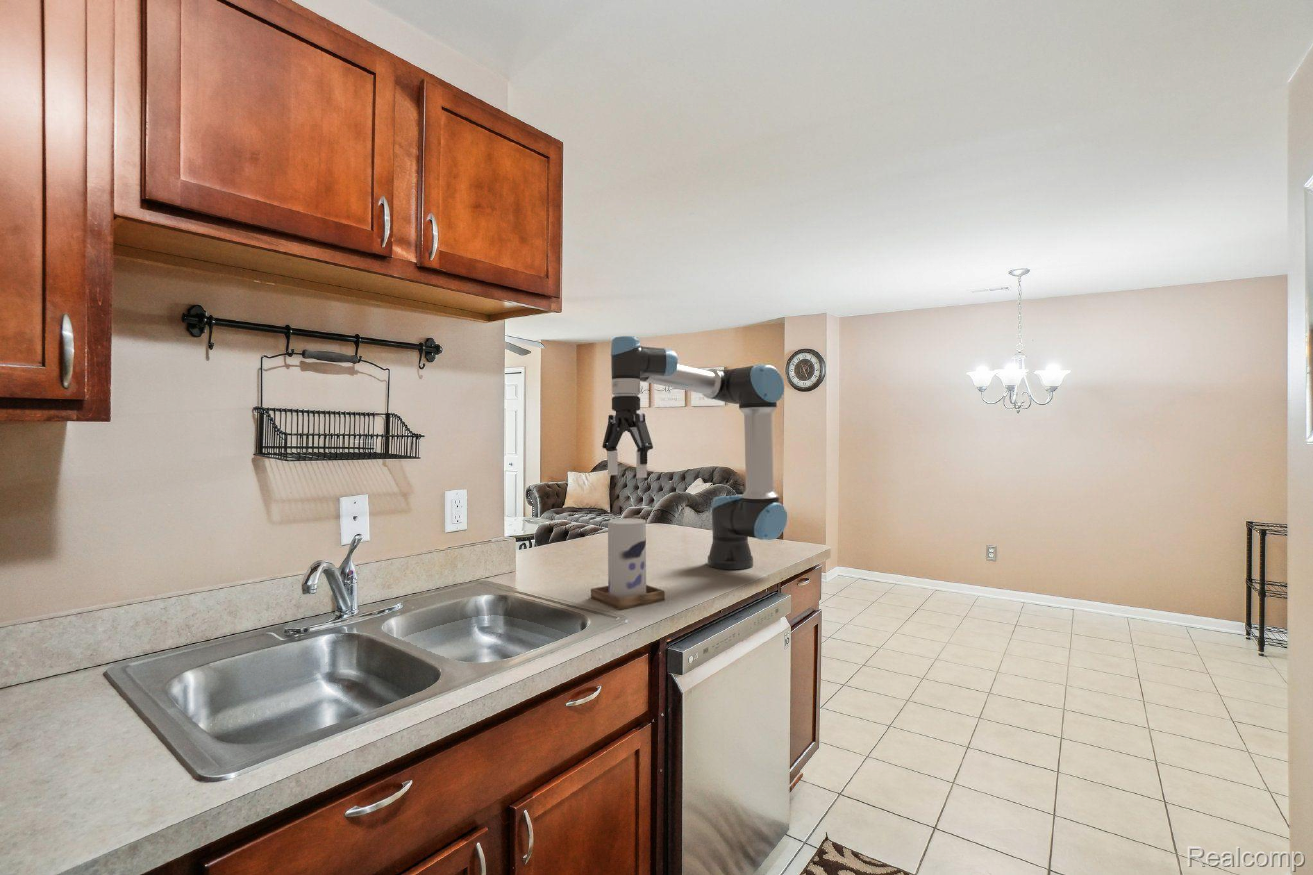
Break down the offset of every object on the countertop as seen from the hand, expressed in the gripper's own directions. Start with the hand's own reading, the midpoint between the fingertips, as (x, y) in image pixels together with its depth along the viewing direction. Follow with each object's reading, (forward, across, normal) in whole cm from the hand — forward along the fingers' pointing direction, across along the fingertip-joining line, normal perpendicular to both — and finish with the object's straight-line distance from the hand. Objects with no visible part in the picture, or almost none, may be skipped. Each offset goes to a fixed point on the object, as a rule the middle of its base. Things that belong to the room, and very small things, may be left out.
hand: (626, 476), depth 157 cm
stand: (+32, 0, 0) cm, 32 cm away
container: (+32, 0, 0) cm, 32 cm away
